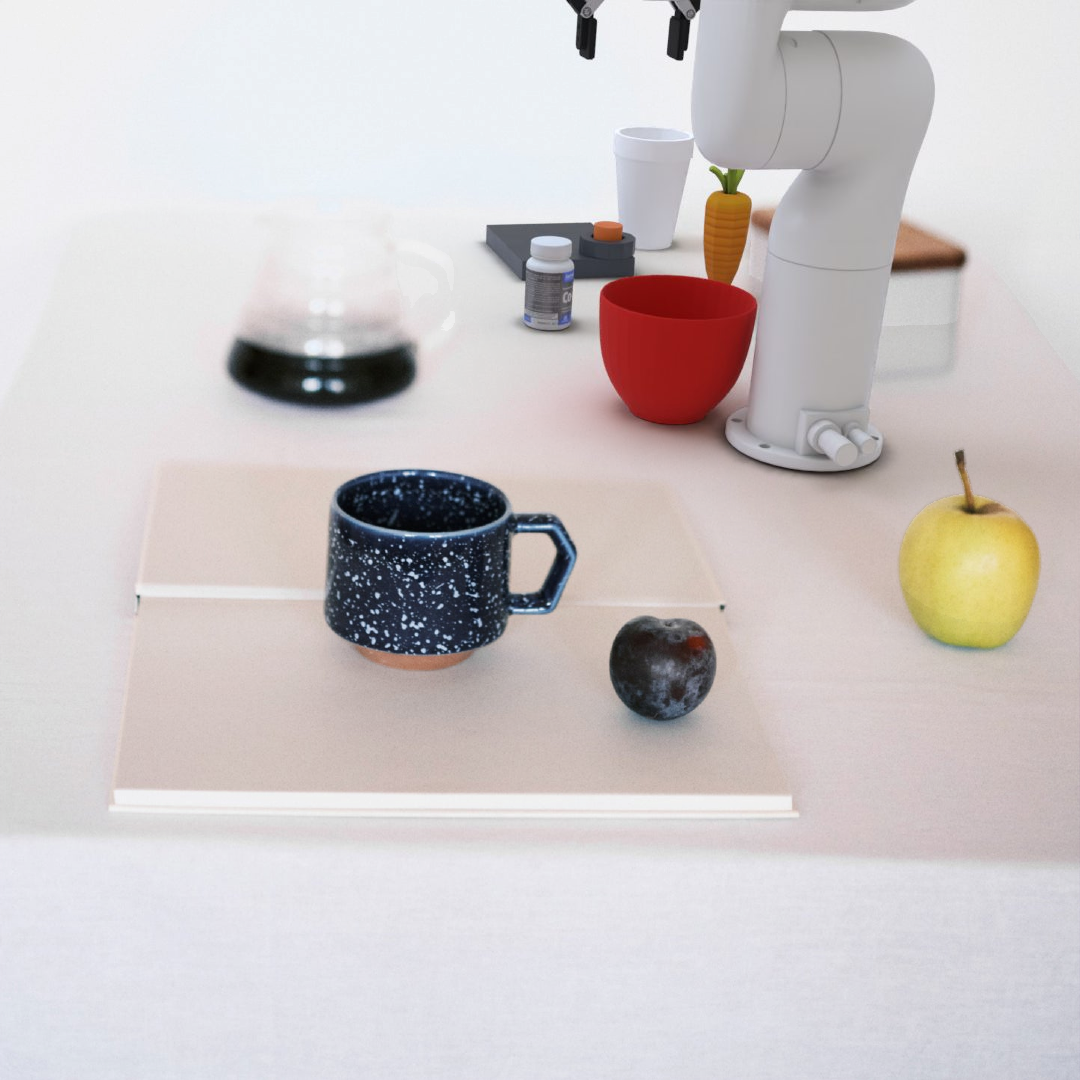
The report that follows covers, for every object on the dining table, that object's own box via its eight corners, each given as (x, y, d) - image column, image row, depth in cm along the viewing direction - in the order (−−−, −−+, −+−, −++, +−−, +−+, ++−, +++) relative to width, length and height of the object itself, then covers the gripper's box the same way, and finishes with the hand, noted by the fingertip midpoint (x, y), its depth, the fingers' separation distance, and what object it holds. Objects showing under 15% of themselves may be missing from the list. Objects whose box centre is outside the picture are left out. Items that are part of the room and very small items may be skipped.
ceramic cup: (784, 392, 123) (799, 283, 118) (705, 452, 109) (718, 331, 105) (654, 362, 128) (663, 256, 124) (564, 415, 115) (571, 299, 111)
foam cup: (593, 235, 169) (601, 127, 164) (659, 231, 173) (668, 124, 167) (630, 255, 162) (639, 142, 156) (698, 250, 165) (709, 140, 160)
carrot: (726, 308, 145) (743, 163, 138) (686, 298, 147) (700, 155, 141) (750, 298, 148) (767, 157, 142) (710, 289, 151) (725, 149, 144)
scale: (639, 278, 153) (642, 242, 152) (523, 282, 150) (524, 246, 148) (593, 240, 168) (596, 207, 166) (485, 243, 164) (486, 209, 162)
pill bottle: (570, 332, 135) (575, 248, 131) (522, 330, 135) (526, 245, 131) (570, 317, 139) (575, 235, 135) (524, 315, 139) (528, 233, 135)
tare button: (625, 243, 153) (627, 227, 152) (598, 244, 152) (599, 228, 151) (616, 236, 155) (617, 220, 155) (589, 236, 155) (590, 221, 154)
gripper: (572, -128, 128) (561, 63, 136) (743, -120, 133) (722, 65, 141) (550, -132, 135) (540, 51, 143) (713, -124, 139) (695, 53, 147)
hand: (631, 58), depth 142 cm, fingers open, 9 cm apart
